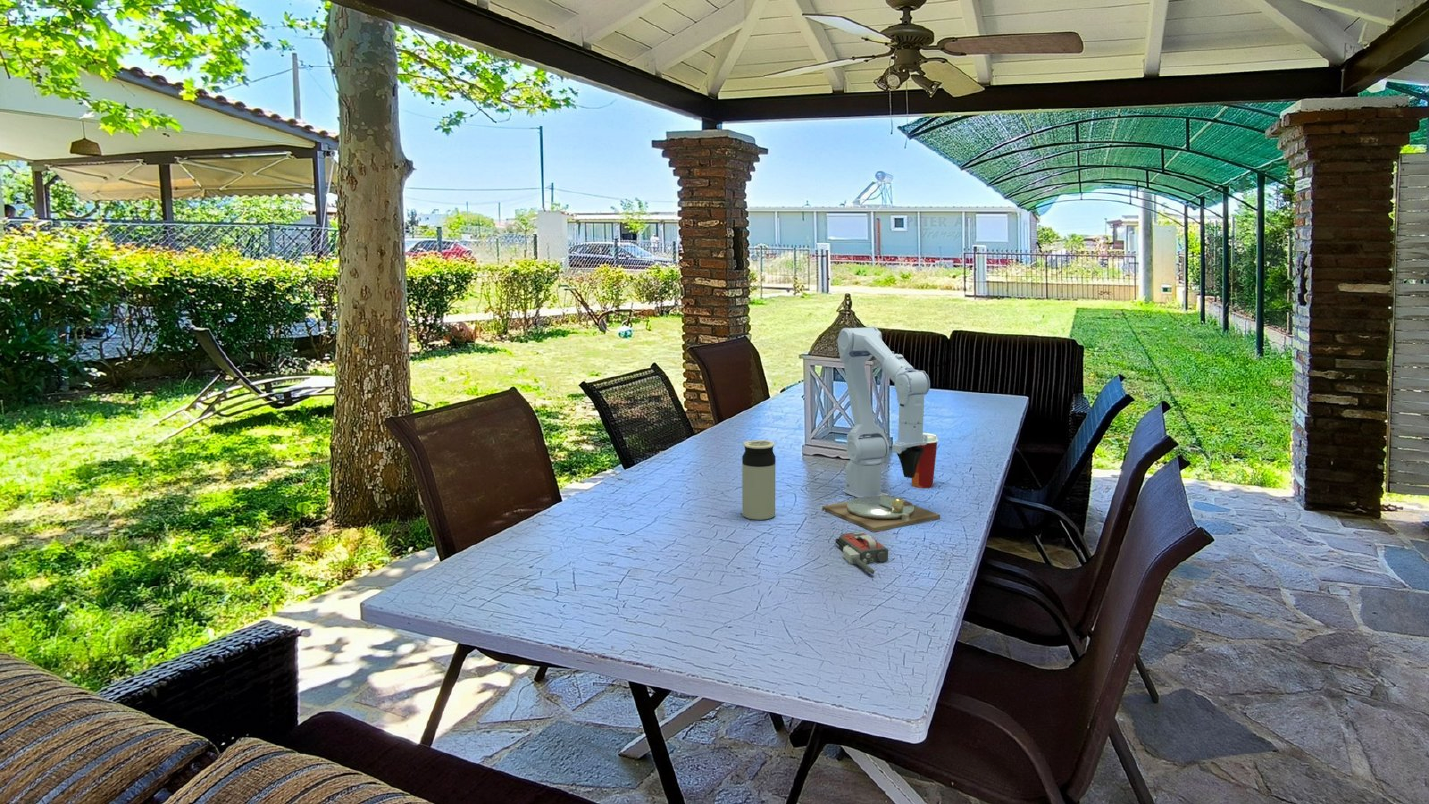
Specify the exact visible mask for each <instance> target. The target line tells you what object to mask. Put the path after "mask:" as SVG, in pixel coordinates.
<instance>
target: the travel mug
mask: <svg viewBox="0 0 1429 804" xmlns="http://www.w3.org/2000/svg"><path fill="white" fill-rule="evenodd" d="M742 446H743V447H744V452H743V454H742V458H741V460H742V461H741V462H742V463H741V466H742V468H741V469H742V470H741V471H742V473H741V477H742V478H741V479H742V481H741V482H742V483H741V486H742V487H741V488H742V492H741V493H742V496H741V498H742V500H741V501H742V503H741V504H742V505H741V506H742V510H741V511H742V517H745V518H746V519H748V520H754V521H765V519H766V520H770V519H772V518H773V517H775V516H776V462H777V461H776V454H775V452H774V451H773V450H774V447H775V442H773V441H770V440H763V439H762V440H761V439H760V440H759V439H758V440H747V441H745V442H743V443H742Z"/></svg>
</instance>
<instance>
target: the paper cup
mask: <svg viewBox="0 0 1429 804" xmlns="http://www.w3.org/2000/svg"><path fill="white" fill-rule="evenodd" d="M923 435H928V436H927V444H926V445H918V447H922V448H924V452H923V454H922V456H921V458H920V460H919V462H918V465H917V469H916V472H915V476H914V477H913V478H910V480H911V486H912V487H914V488H919V489H929V488H932V487H933V485H934V476H935V467H936V458H937V451H938V449H937V448H938V442H939V439H938V436H937V435H936V434H934V433H930V432H929V433H928V432H923Z"/></svg>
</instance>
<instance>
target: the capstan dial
mask: <svg viewBox="0 0 1429 804" xmlns="http://www.w3.org/2000/svg"><path fill="white" fill-rule="evenodd" d="M847 502H848V503H847V510H848V511H849V512H851V513H853V514H855V515H858V516H862V517H866V518H874V519H897V518H902V514H904V513H906V514H908V515H909V516H910V515H911V514H913V513H914V504H913V503H912V502H910V501H907V500H906V499H904V498H902V497H894V496H893V497H892V496H890V497H885V496H866V497H859V498H858V497H854V498H853V499H850V500H849V501H847Z"/></svg>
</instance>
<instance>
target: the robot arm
mask: <svg viewBox="0 0 1429 804" xmlns="http://www.w3.org/2000/svg"><path fill="white" fill-rule="evenodd" d="M836 342H837V347H838V353H839V359H840V362H842V363H843V368H844V374H845V379H846V384H847V389H848V390H847V392H848V396H849V402H850V403H849V404H850V407H851V408H850V409H851V412H852V413H851V414H852V419H853V420H852V421H853V425H854V426H853V428H852V429H851V430H850V431H849V432H848V433H847V434H846V440H847V441H846V454H847V457H848V458H849V461H848V462H847V463H846V467H845V475H844V477H845V478H844V479H845V481H844V482H845V483H844V487H845V488H844V489H842V493H845V494H846V495H847V494H848V495H850V496H853V497H854V498H859V497H866V496H882V495H887V496H889V494H888V493H886V492H882V468H883V467H882V463H885V459H887V458H888V456H889V453H890V444H889V441H888V439H887V437H886V434H885V430H884V429H883V428H882V427H881V426H880V425H877V424H876V422H875V418H874V412H873V407H872V402H871V395H870V391H869V386H868V385H869V383H868V381H867V380H868V379H867V373H866V369H865V365H866V363H867V362H868V361H870V360H872V358H873V357H874V358H875V359H876V360H877V361H879V362H880V363H881V364H882V365H881V367H882V371H883V372H884V374H886V376H887V377H888V378H889V380H891V381H892V382H893V383H894V389H895V392H896V397H897V399H896V400H897V403H898V405H899V406H898V407H899V408H898V436H897V437H898V438H897V439H896V441H895V442H894V443H893V444H892V445H891V451H892V452H891V453H893V454H896V455H897V457H898V459H899V462H900V465H901V470H902V473H903V477H904V478H906V479H907V478H908V479H911V478H913V477H914V476H915V472H916V469H917V465H918V462H919V460H920V458H921V456H922V454H923V452H924V448H922V447H918V445H926V444H927V436H928V435H923V433H924V414H925V413H924V408H925V395H927V394H928V393H929V391H930V388H931V380H930V377H929V375H928V374H927V373H926V371H925V370H919V369H915V368H914V367H913V366H912V365H911V364H910V363H909V362H908V361H907V360H906V358H904V356H903V354H901V353H899V354H898V353H893V352H892V351H891V349H890V348H889V347H888V346H887V345H886V344H885V342H884V341H883V335H882V332H881V331H880V330H879V329H878V328H877V327H876V326H870V327H869V326H868V327H867V326H866V327H843V328H842V329H841V330H840V331H839V334H838V337H837V341H836Z"/></svg>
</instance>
